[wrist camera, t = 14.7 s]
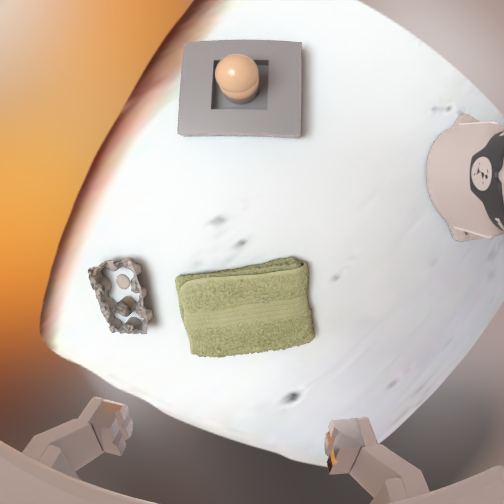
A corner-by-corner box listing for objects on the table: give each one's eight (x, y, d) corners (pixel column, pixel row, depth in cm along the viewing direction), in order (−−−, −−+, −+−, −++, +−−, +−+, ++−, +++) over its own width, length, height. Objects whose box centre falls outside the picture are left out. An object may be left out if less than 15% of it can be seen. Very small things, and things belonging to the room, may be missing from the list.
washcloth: (173, 272, 40) (166, 280, 37) (304, 252, 39) (308, 259, 36) (196, 353, 43) (192, 365, 40) (314, 338, 42) (317, 350, 39)
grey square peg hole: (298, 51, 32) (301, 42, 29) (297, 138, 35) (300, 135, 32) (189, 51, 32) (184, 42, 29) (184, 136, 35) (177, 133, 32)
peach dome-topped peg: (259, 71, 32) (258, 47, 24) (258, 104, 33) (257, 87, 25) (223, 72, 32) (212, 48, 24) (221, 104, 33) (210, 88, 25)
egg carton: (99, 258, 40) (84, 266, 36) (144, 255, 40) (132, 263, 36) (114, 324, 43) (102, 336, 39) (157, 325, 42) (148, 338, 38)
